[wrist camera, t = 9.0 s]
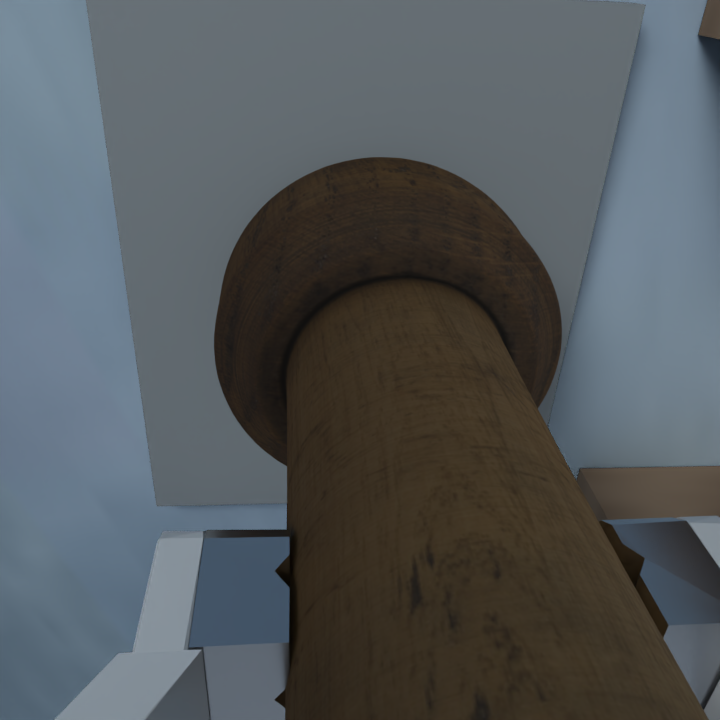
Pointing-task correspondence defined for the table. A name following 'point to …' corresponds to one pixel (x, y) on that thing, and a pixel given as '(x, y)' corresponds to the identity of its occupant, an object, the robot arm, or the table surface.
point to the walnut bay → (656, 484)
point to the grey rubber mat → (330, 160)
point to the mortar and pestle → (426, 462)
